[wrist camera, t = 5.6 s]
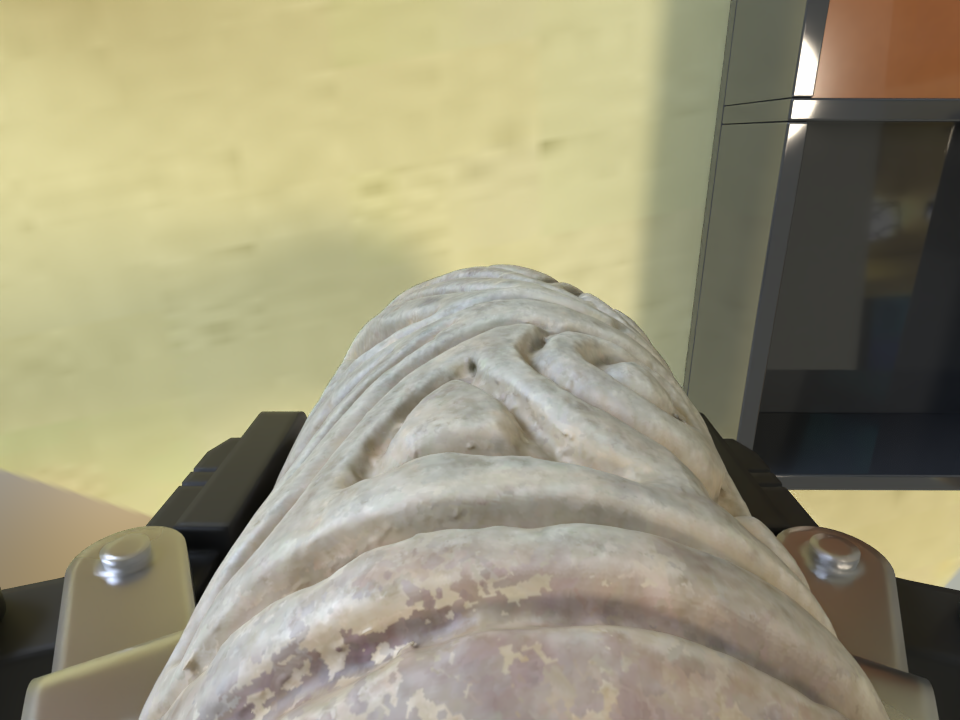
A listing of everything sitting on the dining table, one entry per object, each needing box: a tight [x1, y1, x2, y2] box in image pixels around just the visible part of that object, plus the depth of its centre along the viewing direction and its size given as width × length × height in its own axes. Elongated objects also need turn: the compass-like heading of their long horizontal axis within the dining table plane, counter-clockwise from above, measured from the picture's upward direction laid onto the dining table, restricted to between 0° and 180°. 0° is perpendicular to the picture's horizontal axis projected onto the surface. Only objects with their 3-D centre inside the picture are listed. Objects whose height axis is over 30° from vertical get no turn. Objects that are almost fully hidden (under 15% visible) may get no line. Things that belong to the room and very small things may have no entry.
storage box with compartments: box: [683, 0, 960, 490], centre depth 19 cm, size 24×12×6 cm, turn 0°
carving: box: [139, 265, 890, 720], centre depth 9 cm, size 6×8×12 cm
